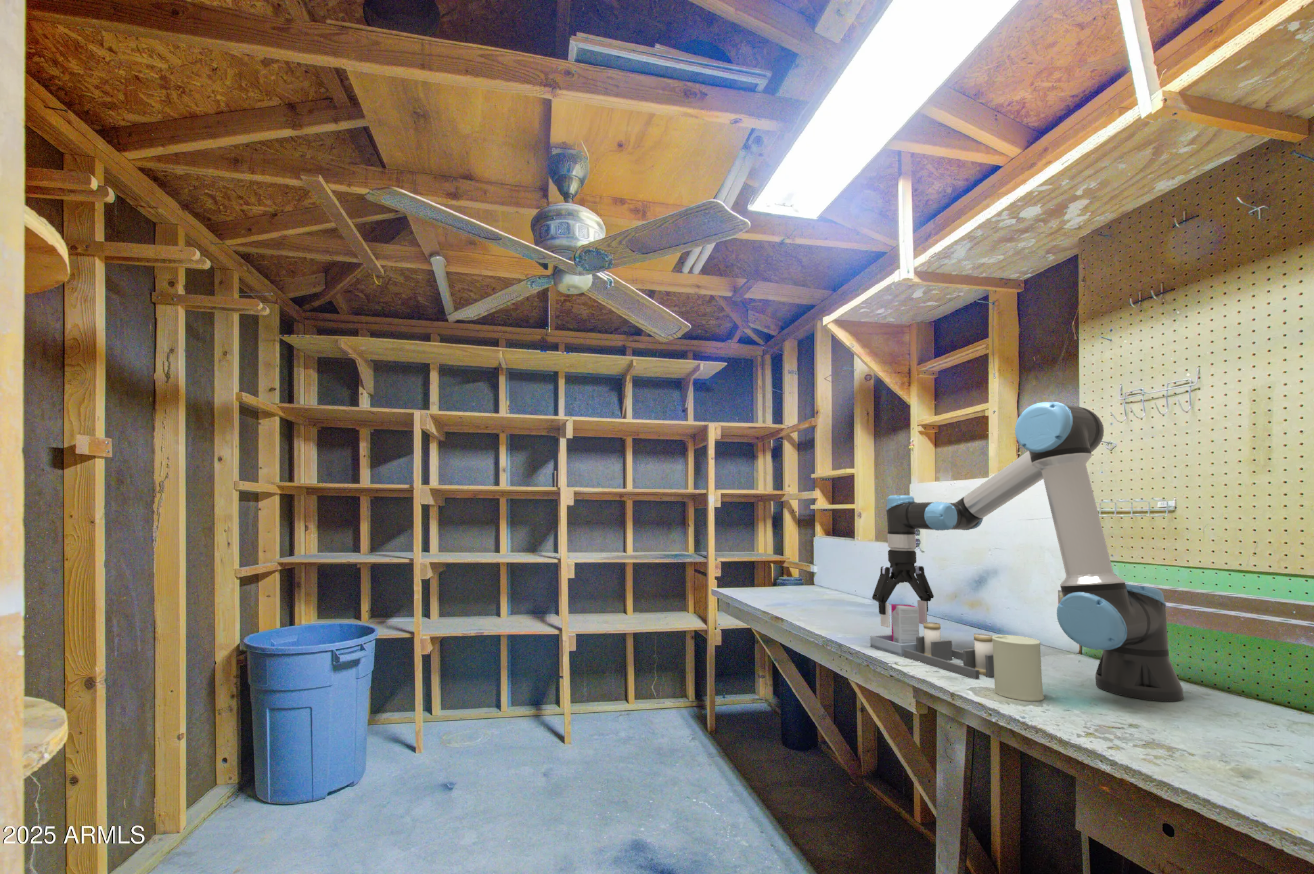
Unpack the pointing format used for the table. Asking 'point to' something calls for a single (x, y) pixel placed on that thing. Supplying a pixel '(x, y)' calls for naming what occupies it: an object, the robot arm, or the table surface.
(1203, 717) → the table surface
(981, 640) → the cylinder
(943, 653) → the holder
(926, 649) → the cylinder
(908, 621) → the supplement box
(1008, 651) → the can
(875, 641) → the tray
